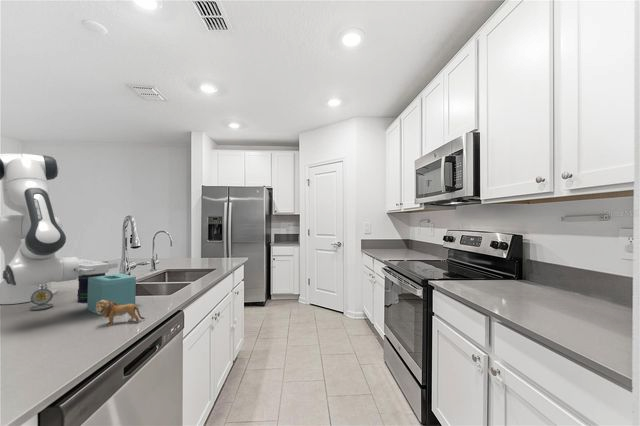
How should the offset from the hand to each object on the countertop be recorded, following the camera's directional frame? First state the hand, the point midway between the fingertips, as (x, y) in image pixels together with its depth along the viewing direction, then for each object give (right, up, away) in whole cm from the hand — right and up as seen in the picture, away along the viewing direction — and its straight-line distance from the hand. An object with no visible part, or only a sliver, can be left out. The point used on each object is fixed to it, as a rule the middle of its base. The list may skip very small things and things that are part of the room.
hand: (112, 264), depth 118 cm
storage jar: (-18, -19, +12) cm, 29 cm away
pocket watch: (-29, -19, 0) cm, 35 cm away
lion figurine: (+15, -18, -18) cm, 30 cm away
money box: (0, -18, 0) cm, 19 cm away
